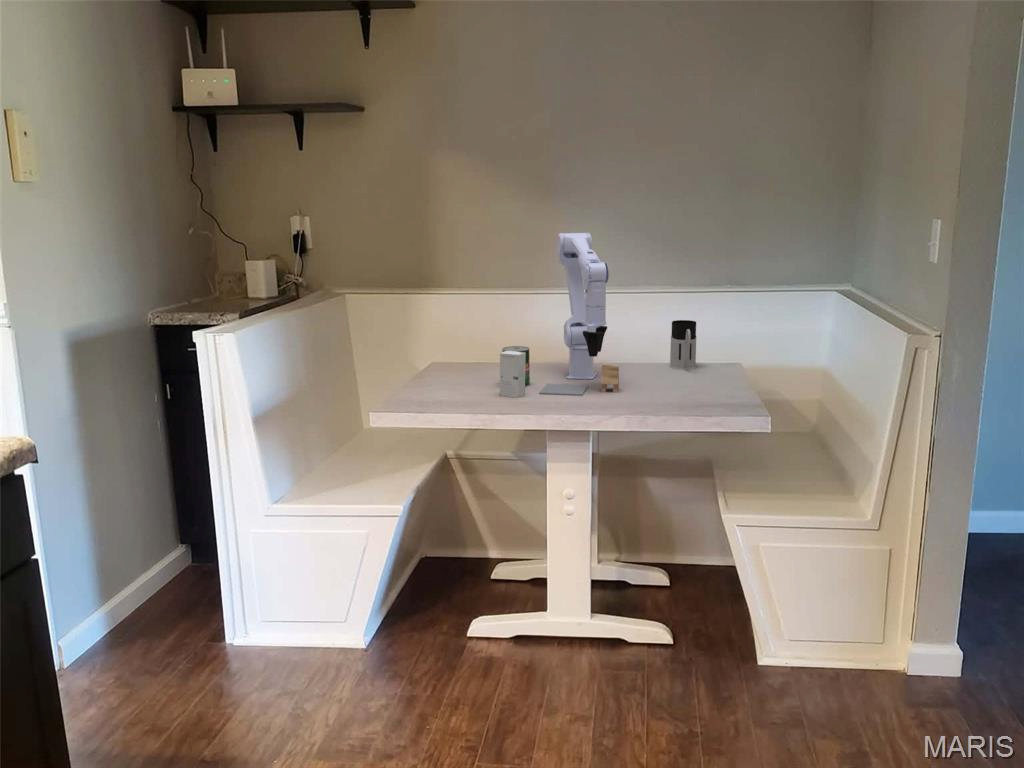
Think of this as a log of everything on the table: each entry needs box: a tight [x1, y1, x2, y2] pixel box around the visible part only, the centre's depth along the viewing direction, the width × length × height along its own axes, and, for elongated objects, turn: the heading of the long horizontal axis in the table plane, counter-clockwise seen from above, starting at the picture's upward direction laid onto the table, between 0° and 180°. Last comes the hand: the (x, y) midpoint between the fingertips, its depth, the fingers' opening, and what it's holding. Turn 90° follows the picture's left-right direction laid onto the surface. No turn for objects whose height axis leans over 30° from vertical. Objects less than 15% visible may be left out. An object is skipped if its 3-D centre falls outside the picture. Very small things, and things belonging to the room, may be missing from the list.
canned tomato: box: [501, 345, 531, 388], centre depth 247 cm, size 8×8×11 cm
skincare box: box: [499, 351, 526, 399], centre depth 234 cm, size 6×4×12 cm
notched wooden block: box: [600, 364, 620, 393], centre depth 238 cm, size 4×4×7 cm
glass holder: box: [669, 319, 697, 371], centre depth 265 cm, size 9×14×15 cm, turn 179°
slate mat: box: [538, 383, 589, 397], centre depth 240 cm, size 12×12×1 cm
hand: (595, 353), depth 241 cm, fingers open, 7 cm apart
